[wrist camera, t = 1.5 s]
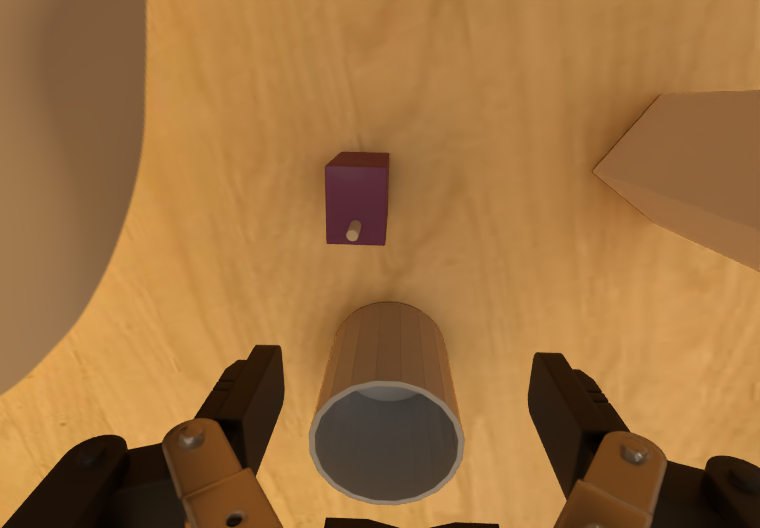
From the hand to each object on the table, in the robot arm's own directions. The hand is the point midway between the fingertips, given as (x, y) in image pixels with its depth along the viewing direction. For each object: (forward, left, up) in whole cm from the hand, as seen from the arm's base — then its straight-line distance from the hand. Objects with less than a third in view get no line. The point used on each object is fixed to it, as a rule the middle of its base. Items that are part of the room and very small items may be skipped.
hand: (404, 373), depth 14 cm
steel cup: (+10, -1, -18) cm, 21 cm away
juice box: (-3, -3, -18) cm, 18 cm away
